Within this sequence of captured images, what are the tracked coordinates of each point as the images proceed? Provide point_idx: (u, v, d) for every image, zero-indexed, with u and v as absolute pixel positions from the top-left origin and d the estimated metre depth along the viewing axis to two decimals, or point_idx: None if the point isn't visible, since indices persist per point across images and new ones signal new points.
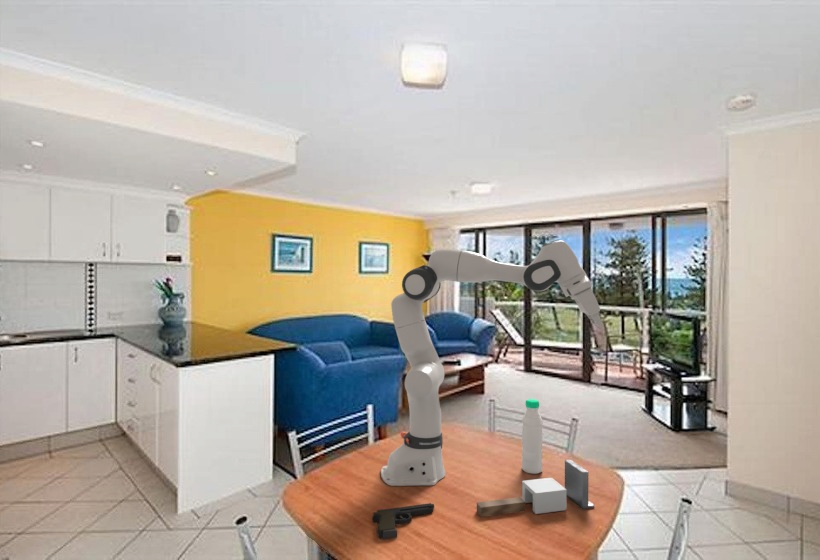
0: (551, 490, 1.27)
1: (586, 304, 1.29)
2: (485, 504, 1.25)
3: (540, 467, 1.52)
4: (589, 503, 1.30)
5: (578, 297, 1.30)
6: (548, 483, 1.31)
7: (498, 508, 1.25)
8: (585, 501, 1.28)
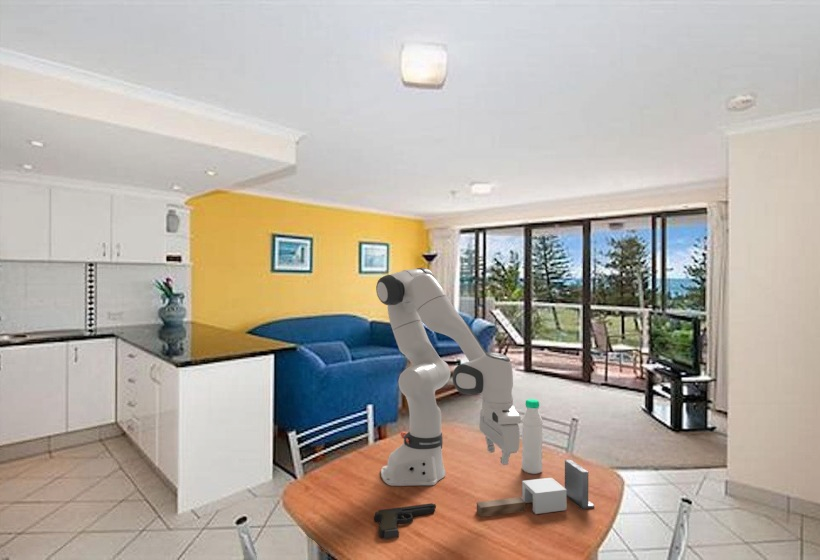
0: (551, 490, 1.27)
1: (508, 441, 1.15)
2: (485, 504, 1.25)
3: (540, 467, 1.52)
4: (589, 503, 1.30)
5: (504, 429, 1.16)
6: (548, 483, 1.31)
7: (498, 508, 1.25)
8: (585, 501, 1.28)
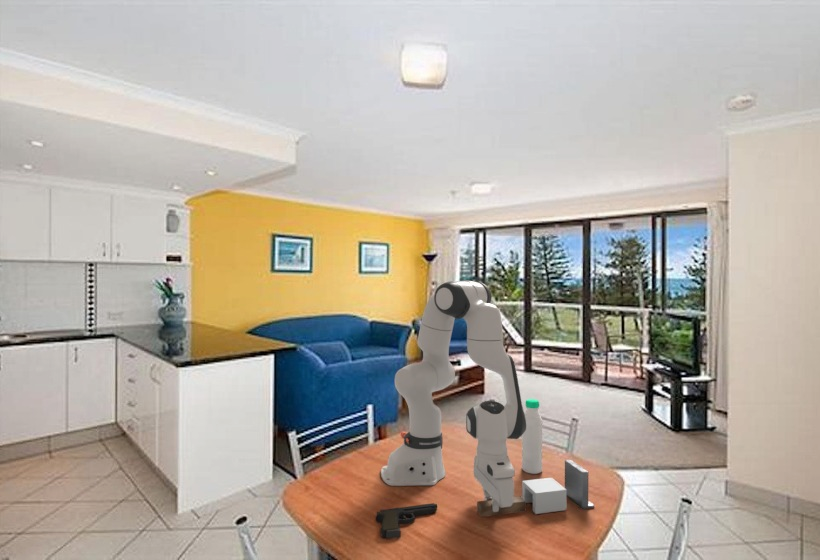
0: (551, 490, 1.27)
1: (503, 495, 1.16)
2: (485, 503, 1.25)
3: (540, 467, 1.52)
4: (589, 503, 1.30)
5: (499, 484, 1.17)
6: (548, 483, 1.31)
7: None
8: (585, 501, 1.28)
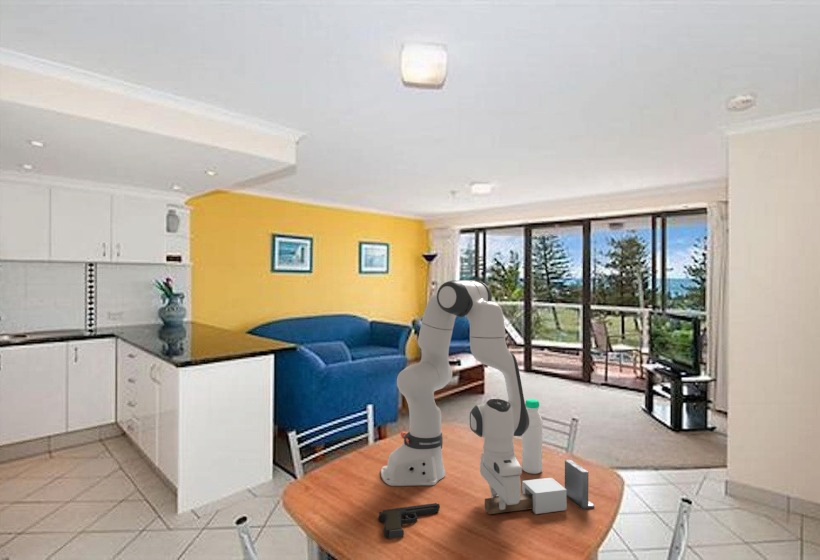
0: (551, 490, 1.27)
1: (510, 492, 1.17)
2: (493, 500, 1.26)
3: (540, 467, 1.52)
4: (589, 503, 1.30)
5: (506, 481, 1.17)
6: (548, 483, 1.31)
7: (506, 504, 1.25)
8: (585, 501, 1.28)
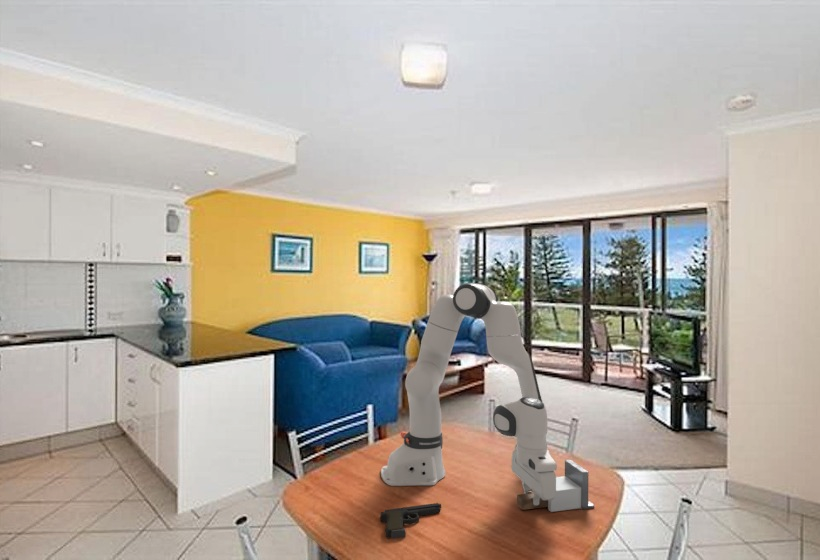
0: (566, 488, 1.28)
1: (546, 488, 1.19)
2: (526, 496, 1.28)
3: None
4: (589, 503, 1.30)
5: (542, 477, 1.20)
6: (562, 481, 1.32)
7: None
8: (585, 501, 1.28)
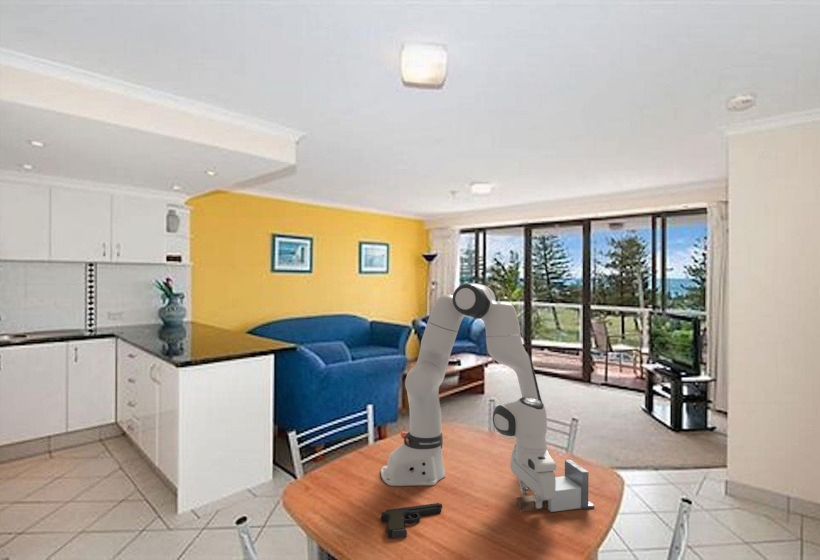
0: (566, 488, 1.28)
1: (545, 488, 1.19)
2: (525, 499, 1.28)
3: None
4: (589, 503, 1.30)
5: (541, 477, 1.20)
6: (562, 481, 1.32)
7: None
8: (585, 501, 1.28)
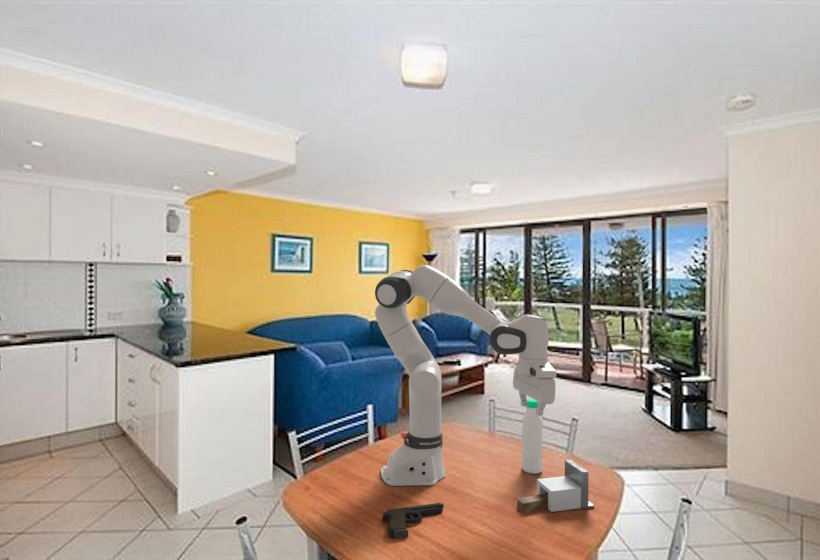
0: (566, 488, 1.28)
1: (545, 392, 1.26)
2: (526, 500, 1.28)
3: (540, 467, 1.52)
4: (589, 503, 1.30)
5: (542, 382, 1.27)
6: (562, 481, 1.32)
7: (538, 503, 1.28)
8: (585, 501, 1.28)
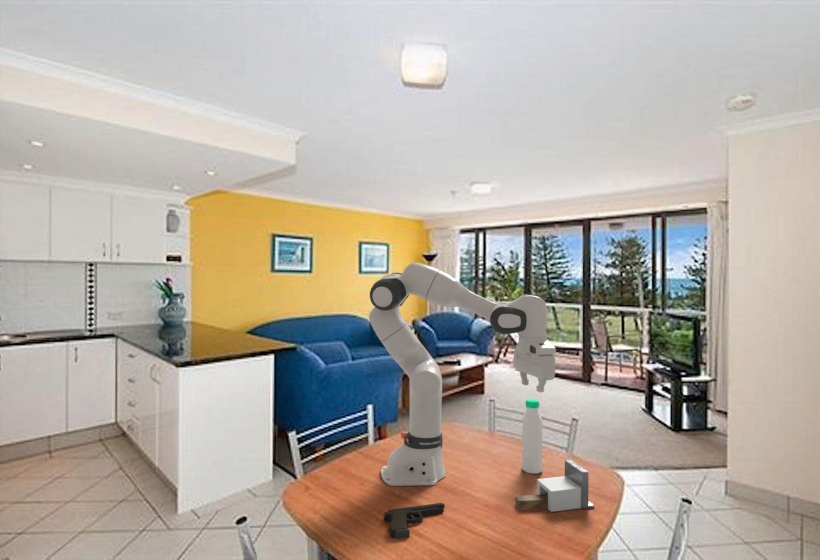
0: (566, 488, 1.28)
1: (546, 368, 1.29)
2: (524, 498, 1.29)
3: (540, 467, 1.52)
4: (589, 503, 1.30)
5: (542, 359, 1.30)
6: (562, 481, 1.32)
7: (536, 503, 1.28)
8: (585, 501, 1.28)
